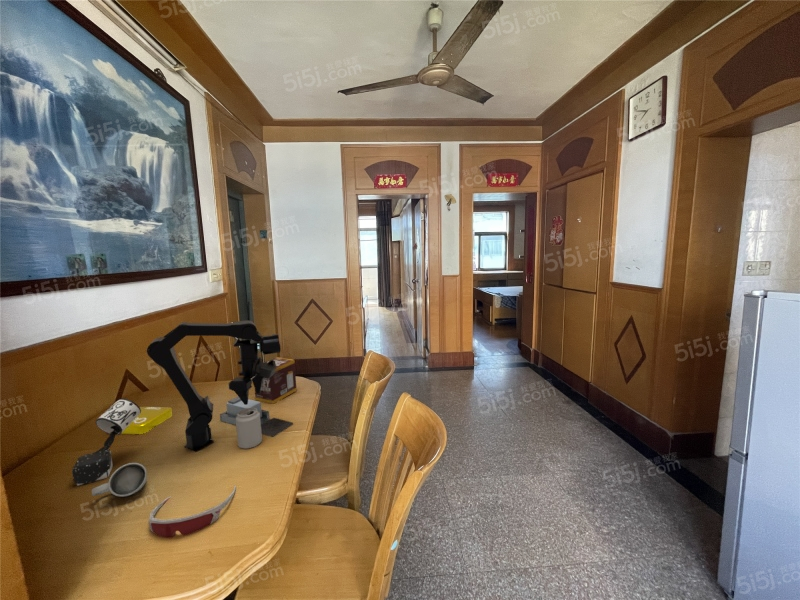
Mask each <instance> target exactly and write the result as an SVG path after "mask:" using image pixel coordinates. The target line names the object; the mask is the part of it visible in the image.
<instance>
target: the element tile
mask: <svg viewBox="0 0 800 600" xmlns="http://www.w3.org/2000/svg"><path fill="white" fill-rule="evenodd" d="M139 407H140V409H141V413H140V414H139V415H138V416H137V417H136V418H135V419H134V420H133V421H132V422H131V423H130V424H129V425H128V427H127V428H126V429H125V430H124V431H123V432H122V433H121V434H120V435H135V434H139V435H143V433H144V434H147V433H148V432H150V431H152V430H153V429H155V428H156V427H155V426H158V425H160V424H162V423H163V422H165V421H166V420H168V419H170V418H171V417H173V410H172V407H170V406H169V407H167V406H166V407H165V406H164V407H162V406H139ZM154 427H155V428H154ZM152 428H153V429H152ZM151 429H152V430H151ZM149 430H150V431H149ZM146 432H147V433H146Z"/></svg>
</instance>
